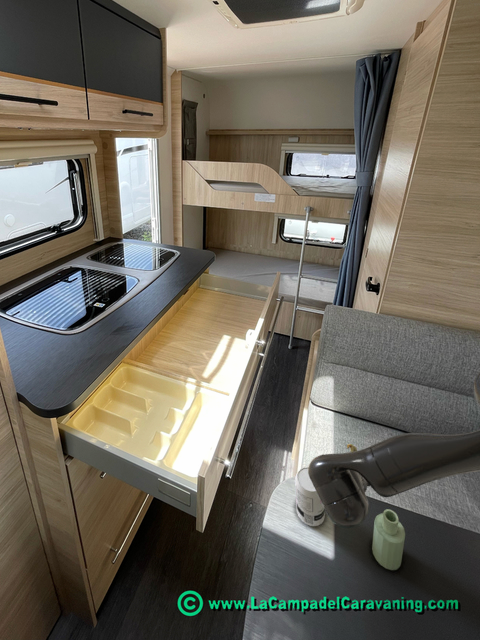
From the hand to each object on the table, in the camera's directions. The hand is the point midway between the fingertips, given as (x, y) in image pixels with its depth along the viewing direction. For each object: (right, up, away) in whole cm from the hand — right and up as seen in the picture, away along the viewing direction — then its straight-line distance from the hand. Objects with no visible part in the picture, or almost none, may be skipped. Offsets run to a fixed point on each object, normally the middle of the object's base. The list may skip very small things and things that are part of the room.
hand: (355, 468), depth 83 cm
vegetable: (0, -10, +2) cm, 10 cm away
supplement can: (-6, -24, +16) cm, 29 cm away
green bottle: (+10, -26, +4) cm, 28 cm away
